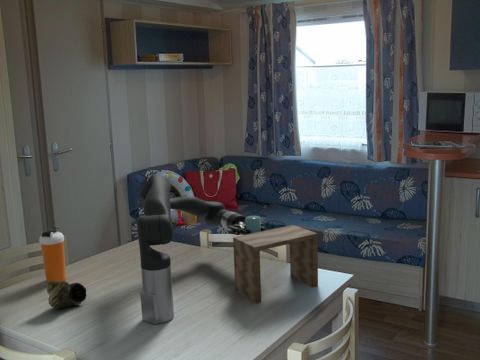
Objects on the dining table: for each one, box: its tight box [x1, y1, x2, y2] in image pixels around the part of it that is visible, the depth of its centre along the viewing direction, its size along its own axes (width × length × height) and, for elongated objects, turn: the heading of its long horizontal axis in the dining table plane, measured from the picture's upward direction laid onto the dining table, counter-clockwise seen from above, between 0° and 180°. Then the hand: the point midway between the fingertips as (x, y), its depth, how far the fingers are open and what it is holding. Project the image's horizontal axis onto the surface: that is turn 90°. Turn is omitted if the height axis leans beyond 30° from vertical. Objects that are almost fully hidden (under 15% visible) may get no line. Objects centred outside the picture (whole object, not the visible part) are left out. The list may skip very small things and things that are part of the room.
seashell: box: [45, 280, 87, 310], centre depth 178 cm, size 11×11×10 cm
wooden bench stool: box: [232, 224, 319, 304], centre depth 187 cm, size 14×26×20 cm, turn 120°
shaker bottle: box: [38, 227, 67, 282], centre depth 203 cm, size 9×9×20 cm
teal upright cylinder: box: [245, 215, 262, 234], centre depth 198 cm, size 6×6×11 cm
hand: (257, 232), depth 195 cm, fingers closed on teal upright cylinder, 5 cm apart
